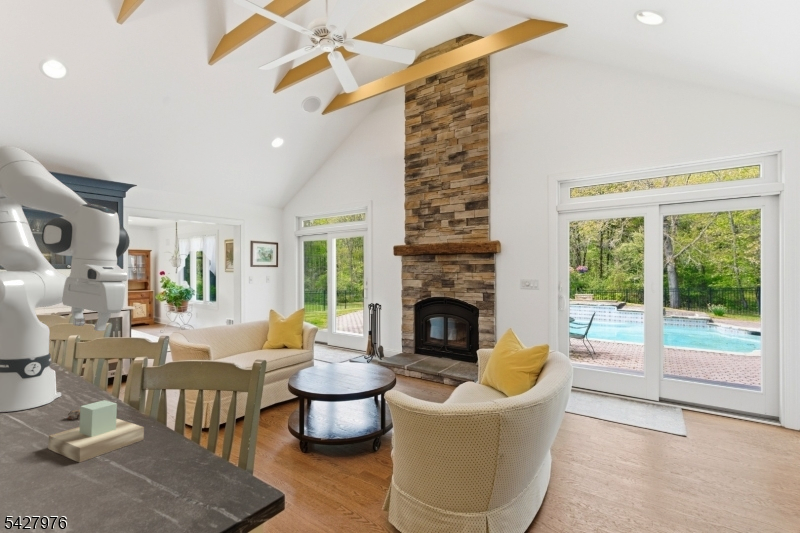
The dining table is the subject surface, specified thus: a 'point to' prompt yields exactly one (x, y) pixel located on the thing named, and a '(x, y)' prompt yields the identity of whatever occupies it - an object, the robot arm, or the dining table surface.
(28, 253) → the robot arm
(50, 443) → the birch plinth
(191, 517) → the dining table surface
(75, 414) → the mineral rock
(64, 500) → the dining table surface
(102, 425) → the sage block
